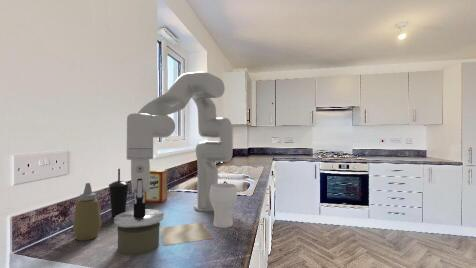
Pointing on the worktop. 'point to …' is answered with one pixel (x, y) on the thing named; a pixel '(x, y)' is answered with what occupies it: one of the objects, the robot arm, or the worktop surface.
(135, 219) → the lid
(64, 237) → the worktop surface
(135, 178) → the robot arm
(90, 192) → the squeeze bottle
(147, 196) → the baking soda box
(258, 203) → the worktop surface
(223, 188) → the cup
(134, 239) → the can
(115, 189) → the drinking cup
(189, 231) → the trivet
